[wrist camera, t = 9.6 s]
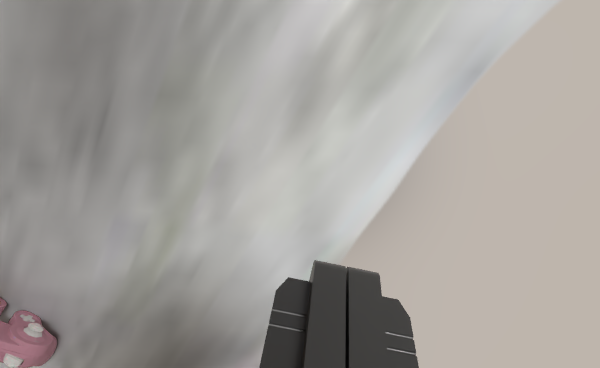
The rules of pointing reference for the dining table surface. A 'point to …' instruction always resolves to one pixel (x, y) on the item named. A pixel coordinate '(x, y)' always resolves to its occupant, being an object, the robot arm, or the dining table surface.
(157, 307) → the dining table surface
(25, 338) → the video game controller
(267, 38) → the dining table surface
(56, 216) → the dining table surface
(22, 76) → the dining table surface
